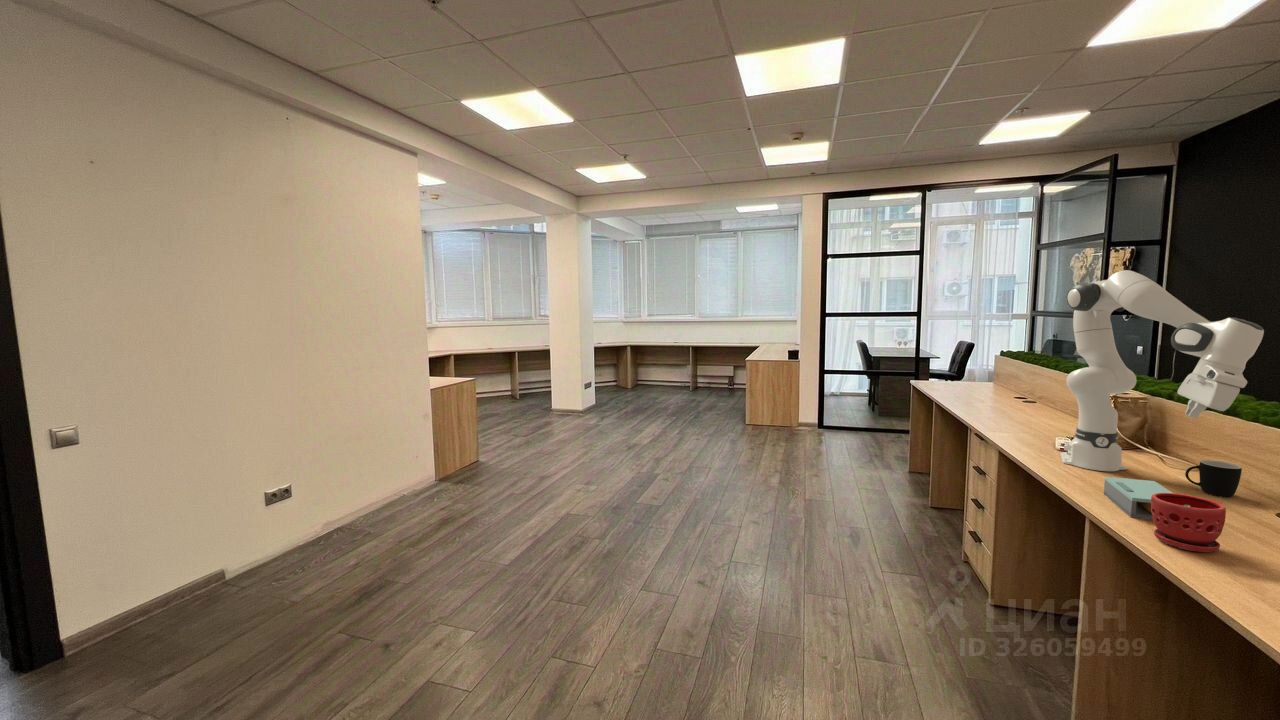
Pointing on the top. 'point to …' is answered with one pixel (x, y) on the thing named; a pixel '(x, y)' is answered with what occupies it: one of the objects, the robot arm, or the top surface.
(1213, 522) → the plant pot
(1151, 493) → the lid
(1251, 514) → the top surface
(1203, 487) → the mug
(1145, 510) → the grey rectangular box
